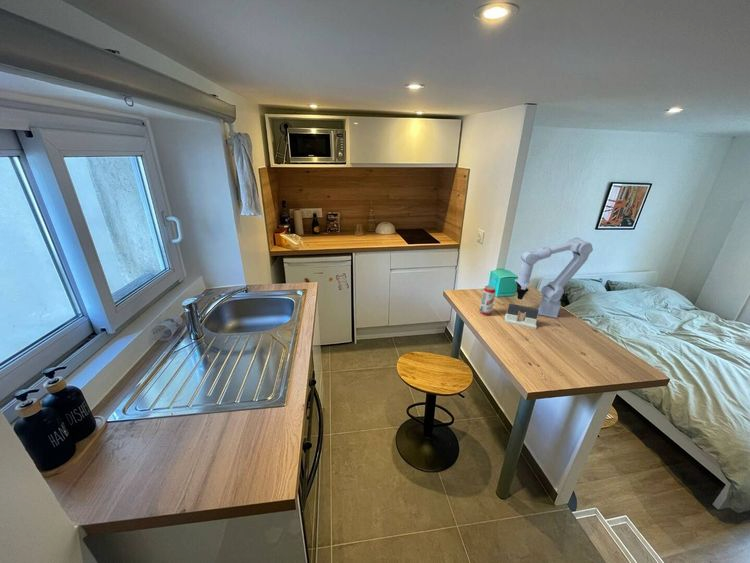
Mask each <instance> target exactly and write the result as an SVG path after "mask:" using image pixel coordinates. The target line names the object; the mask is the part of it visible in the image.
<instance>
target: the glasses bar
mask: <svg viewBox="0 0 750 563" xmlns="http://www.w3.org/2000/svg"><path fill="white" fill-rule="evenodd" d="M537 308H538V307H530V306H525V305H520V304H514V303H509V304H508V307H507V310H506V314H512V315H517V316H519V313H520V311H523V312H525V314H526V315H525V314H524V317H525V316H526V317H527V318H532V319H537V318H538V316H539V314H538V312H539V310H538V309H537Z"/></svg>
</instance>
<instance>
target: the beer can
mask: <svg viewBox="0 0 750 563" xmlns="http://www.w3.org/2000/svg"><path fill="white" fill-rule="evenodd" d="M495 296H496V287H494V286H492V285H485V286H484V288H483V291H482V296H481V299H480V306H479V313H480V314H481V315H483V316H489V315H491V314H492V310H493V306H494V303H495V302H494V301H495Z"/></svg>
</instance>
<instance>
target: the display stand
mask: <svg viewBox="0 0 750 563" xmlns="http://www.w3.org/2000/svg"><path fill="white" fill-rule="evenodd" d="M525 315H526V312H523V311H519V313H518V316H517V315H512V314H507V313H505V314H504V323H505V324H511V325H515V326H516V325H517V326H520V327H521V326H522V327H527V328H532V329H535V330H536V329H537V319H532V318H527V317H526V316H525Z"/></svg>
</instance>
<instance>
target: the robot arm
mask: <svg viewBox="0 0 750 563" xmlns="http://www.w3.org/2000/svg"><path fill="white" fill-rule="evenodd" d="M565 251H571V252H572V254H573V258H572V259H571V260H570V261H569V262H568V264H567V265H566V266H565V267H564V269H562V271H561V272H560V273H559V274H558V276H557V277H555V279H554V281H549V282H548V283H547V284H545V285H544V286H543V287H542V288H541V290H540V292H541V294H542V296H541V300H540V304H539V307H536V308H537V309H538V310H539V312H538V316H539V315H540V316H544V317H550V318H556V319H557V318H558V315H559V312H560V309H561V305H562V304H561V299H562V297H563V294H564V293H565V286H567V284H568V283H569V282H570V280H571V279H572V278H573V277H574V276H575V275H576V274H577V272H578V271H579V270H580V269H581V268H582V266H584V264H586V262H587V261H588V259H589V257H590V254H591V253H593V251H594V248H593V244H592V243H590V242H589V241H586V240H583V239H581V238H580V237H573V238H569V239H567V241H564V242H561V243H559V244H556V245H554V246H551V247H548V246H541V247H540V248H538V249H532V250H531V251H529V250H526V251H525V252H523V253H522V254H521V255H520V259H521V265H520V268H519V272H518V276H517V278H515V279H514V281H515V283H516V294H517V299H518V300H520V301H521V300H523V298H524V296H525V295H526V293H528V292H529V288H527V287H528V285H530V279H531V276H532V272H533V268H534V266H535V264H536V263H537V262H539V261H542V260H545V259H548V258H550V257H551V256H552V255H554V254H558V253H562V252H565Z"/></svg>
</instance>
